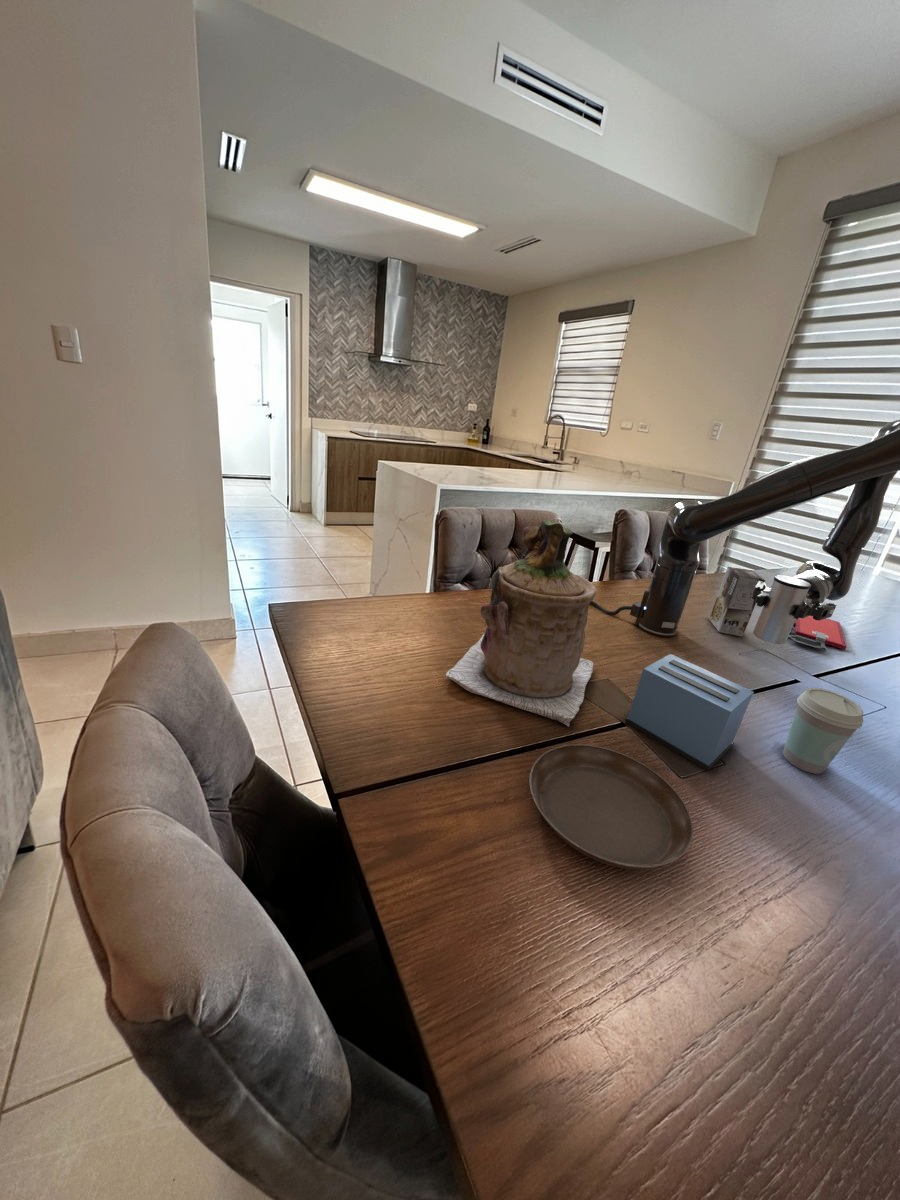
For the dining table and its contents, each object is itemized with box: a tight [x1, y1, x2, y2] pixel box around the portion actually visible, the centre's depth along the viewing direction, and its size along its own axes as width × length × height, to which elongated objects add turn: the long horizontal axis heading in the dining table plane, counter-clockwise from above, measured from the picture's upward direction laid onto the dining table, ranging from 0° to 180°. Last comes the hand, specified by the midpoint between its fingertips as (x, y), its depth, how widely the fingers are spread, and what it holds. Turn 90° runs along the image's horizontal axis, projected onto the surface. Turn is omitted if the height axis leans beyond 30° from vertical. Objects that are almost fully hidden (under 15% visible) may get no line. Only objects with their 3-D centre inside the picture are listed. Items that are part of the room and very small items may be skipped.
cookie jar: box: [445, 519, 598, 727], centre depth 87 cm, size 25×25×32 cm
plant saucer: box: [529, 743, 694, 870], centre depth 62 cm, size 21×21×3 cm
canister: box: [752, 574, 811, 645], centre depth 90 cm, size 6×6×12 cm
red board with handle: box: [787, 616, 848, 651], centre depth 132 cm, size 30×3×15 cm
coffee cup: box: [782, 687, 864, 775], centre depth 76 cm, size 9×8×12 cm
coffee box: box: [708, 566, 766, 637], centre depth 126 cm, size 9×6×16 cm
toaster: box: [624, 653, 755, 772], centre depth 80 cm, size 14×11×11 cm
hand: (778, 607), depth 88 cm, fingers closed on canister, 5 cm apart
